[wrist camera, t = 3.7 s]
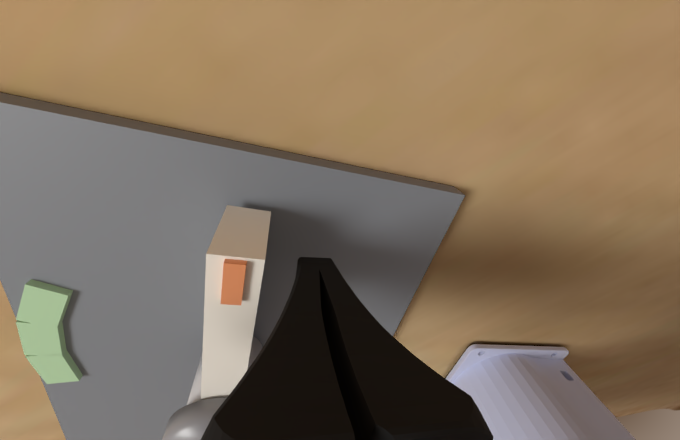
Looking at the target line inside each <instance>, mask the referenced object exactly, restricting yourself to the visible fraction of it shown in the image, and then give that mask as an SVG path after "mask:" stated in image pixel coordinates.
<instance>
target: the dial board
mask: <svg viewBox="0 0 680 440" xmlns="http://www.w3.org/2000/svg"><path fill="white" fill-rule="evenodd" d="M464 197H465V195H464V194H463V193H462V192H460V191H459V190H458V189H456V188H455V187H454V186H449V185H444V184H439V183H435V182H430V181H425V180H420V179H415V178H410V177H406V176H401V175H396V174H391V173H386V172H382V171H377V170H372V169H367V168H362V167H357V166H353V165H348V164H343V163H338V162H333V161H329V160H324V159H319V158H314V157H309V156H304V155H300V154H295V153H290V152H285V151H280V150H276V149H271V148H266V147H261V146H256V145H251V144H247V143H242V142H237V141H232V140H227V139H223V138H218V137H213V136H208V135H203V134H198V133H194V132H189V131H184V130H179V129H174V128H169V127H165V126H160V125H155V124H150V123H145V122H141V121H136V120H131V119H126V118H121V117H116V116H112V115H107V114H102V113H97V112H92V111H88V110H83V109H78V108H73V107H68V106H63V105H59V104H54V103H49V102H44V101H39V100H35V99H30V98H25V97H20V96H15V95H10V94H6V93H1V92H0V281H1V283H2V285H3V288H4V290H5V293H6V295H7V297H8V300H9V302H10V305H11V307H12V310H13V312H14V314H15V317H16V320H17V322H16V324H17V328H18V332H19V336H20V340H21V344H22V347H23V351H24V355H26V356H25V357H26V358H27V360H28V361H29V362H30V363H31V365H32V366H33V367H34V368H35V370H36V371H37V372H38V374H39V375H40V377H41V380H42V382H43V384H44V387H45V389H46V392H47V394H48V397H49V399H50V401H51V404H52V406H53V409H54V411H55V413H56V416H57V418H58V421H59V423H60V426H61V428H62V430H63V433H64V435H65V438H66V440H162V439H163V436H164V433H165V430H166V427H167V424H168V421H169V419H170V417H171V416H172V415H173V414H174V413H175V412H176V411H177V410H179V409H180V408H182V407H184V406H186V405H187V402H188V399H189V396H190V392H191V389H192V385H193V382H194V379H195V375H196V372H197V369H198V365H199V362H200V359H201V355H202V351H203V324H204V298H205V271H206V253H207V251H208V248H209V246H210V244H211V241H212V239H213V237H214V234H215V232H216V230H217V228H218V225H219V223H220V221H221V218H222V216H223V214H224V211H225V209H226V207H227V205H230V206H237V207H244V208H251V209H257V210H264V211H271V217H270V225H269V233H268V241H267V249H266V257H265V264H264V270H263V276H262V283H261V289H260V295H259V301H258V307H257V313H256V320H255V326H254V332H253V336H254V337H255V338H257V339H258V340H259V341H260V343H261V345H262V348H263V346H264V344H265V343H266V341H267V339H268V338H269V336H270V334H271V333H272V331H273V329H274V327H275V325H276V323H277V321H278V320H279V318H280V316H281V313H282V311H283V309H284V307H285V305H286V302H287V300H288V298H289V295H290V293H291V290H292V287H293V284H294V281H295V277H296V270H297V262H298V259H299V258H300V257H317V258H331V259H332V260H333V262H334V263H335V265H336V267H337V268H338V270H339V271H340V273H341V275H342V276H343V278H344V279H345V281H346V282H347V284H348V285H349V286H350V288H351V289H352V290H353V292H354V293H355V295H356V296H357V297H358V299H359V300H360V301H361V302H362V304H363V305H364V306H365V307H366V308H367V310H368V311H369V312H370V313H371V314H372V316H373V317H374V318H375V319H376V320H377V321H378V322H379V323H380V324H381V325H382V326H383V327H384V328H385V329H386V330H387V331H388V332H389V333H390V334H391V335H392V336H393V335H394V333H395V331H396V329H397V327H398V325H399V323H400V321H401V319H402V317H403V315H404V313H405V312H406V310H407V308H408V306H409V304H410V302H411V300H412V298H413V296H414V294H415V292H416V290H417V288H418V286H419V284H420V282H421V280H422V278H423V276H424V275H425V273H426V271H427V269H428V267H429V265H430V263H431V261H432V259H433V257H434V255H435V253H436V251H437V249H438V247H439V245H440V243H441V241H442V239H443V238H444V236H445V234H446V232H447V230H448V228H449V226H450V224H451V222H452V220H453V218H454V216H455V214H456V212H457V210H458V208H459V206H460V204H461V202H462V201H463V199H464Z"/></svg>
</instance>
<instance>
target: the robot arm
mask: <svg viewBox="0 0 680 440" xmlns="http://www.w3.org/2000/svg"><path fill="white" fill-rule="evenodd" d="M568 354H569V351H568V350H567V349H566V348H565V347H550V346H518V345H487V344H473V345H471V346H469V347H468V348H467V349H466V351H465V352H464V354H463V355H462V356H461V358H460V359H459V360H458V362H457V363H456V365H455V366H454V367H453V369H452V370H451V372H450V373H449V374H448V376H447V377H446V378H443V377H442V376H441V375H439V374H438V373H436V372H435V371H434V370H432V369H431V368H430V367H428V366H427V365H426V364H425V363H423V362H422V361H421V360H419V359H418V358H417V357H416V356H414V355H413V354H412V353H411V352H410V351H409V350H407V349H406V348H405V347H404V346H403V345H402V344H401V343H399V342H398V341H397V340H396V339H395V338H394V337H393V336H392V335H391V334H390V333H389V332H388V331H387V330H386V329H385V328H384V327H383V326H382V325H381V324H380V323H379V322H378V321H377V320H376V319H375V318H374V317H373V316H372V314H371V313H370V312H369V311H368V310H367V308H366V307H365V306H364V305H363V304H362V302H361V301H360V300H359V299H358V297H357V296H356V295H355V293H354V292H353V290H352V289H351V288H350V286H349V285H348V284H347V282H346V281H345V279H344V278H343V276H342V275H341V273H340V271H339V270H338V268H337V267H336V265H335V263H334V262H333V260H332V259H331V258H317V257H300V258H299V259H298V262H297V270H296V277H295V281H294V284H293V287H292V290H291V293H290V295H289V298H288V300H287V302H286V305H285V307H284V309H283V311H282V313H281V316H280V318H279V320H278V321H277V323H276V325H275V327H274V329H273V331H272V333H271V334H270V336H269V338H268V339H267V341H266V343H265V344H264V346H263V348H262V349H261V351H260V352H259V354H258V356H257V357H256V359H255V360H254V361H253V363H252V364H251V366H250V367H249V369H248V370H247V372H246V373H245V374H244V376H243V377H242V379H241V380H240V381H239V383H238V384H237V385H236V387H235V388H234V389H233V391H232V392H231V393H230V394H229V396H228V397H227V398H226V399H225V401H224V402H223V403H222V405H221V406H220V407H219V408H218V410H217V411H216V412H215V413H214V415H213V416H212V418H211V420H210V422H209V424H208V426H207V428H206V430H205V432H204V434H203V436H202V438H201V440H636V439H635V438H634V437H633V436H632V435H631V434H630V432H629V431H628V430H627V429H626V428H625V427H624V426H623V425H622V424H621V423H620V422H619V420H618V419H617V418H616V417H615V416H614V415H613V414H612V413H611V412H610V411H609V409H608V408H607V407H606V406H605V405H604V404H603V403H602V402H601V401H600V400H599V398H598V397H597V396H596V395H595V394H594V393H593V392H592V391H591V390H590V389H589V388H588V386H587V385H586V384H585V383H584V382H583V381H582V380H581V379H580V378H579V377H578V375H577V374H576V373H575V372H574V371H573V370H572V369H571V368H570V367H569V366H568V365H567V363H566V362H565V361H564V360H563V359H564V358H565V357H566V356H567V355H568Z"/></svg>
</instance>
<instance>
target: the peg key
mask: <svg viewBox="0 0 680 440" xmlns="http://www.w3.org/2000/svg"><path fill="white" fill-rule="evenodd" d="M270 217H271V211H264V210H257V209H251V208H244V207H237V206H230V205H227V207H226V209H225V211H224V214H223V216H222V218H221V221H220V223H219V225H218V228H217V230H216V232H215V234H214V237H213V239H212V241H211V244H210V246H209V248H208V251H207V253H206V271H205V298H204V324H203V351H202V355H201V359H200V362H199V365H198V369H197V372H196V375H195V379H194V382H193V385H192V389H191V392H190V396H189V399H188V402H187V405H186V406H184V407H182V408H180V409H179V410H177V411H176V412H175V413H174V414H173V415H172V416H171V417H170V419H169V421H168V424H167V427H166V430H165V433H164V436H163V439H162V440H201V438H202V436H203V434H204V432H205V430H206V428H207V426H208V424H209V422H210V420H211V418H212V416H213V415H214V413H215V412H216V411H217V410H218V408H219V407H220V406H221V405H222V403H223V402H224V401H225V399H226V398H227V397H228V396H229V394H230V393H231V392H232V391H233V389H234V388H235V387H236V385H237V384H238V383H239V381H240V380H241V379H242V377H243V376H244V374H245V373H246V372H247V370H248V369H249V367H250V366H251V364H252V363H253V361H254V360H255V359H256V357H257V356H258V354H259V352H260V351H261V349H262V345H261V343H260V341H259V340H258V339H257V338H255V337H254V336H253V332H254V326H255V320H256V313H257V307H258V301H259V295H260V289H261V283H262V276H263V270H264V264H265V257H266V249H267V241H268V233H269V225H270Z"/></svg>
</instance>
